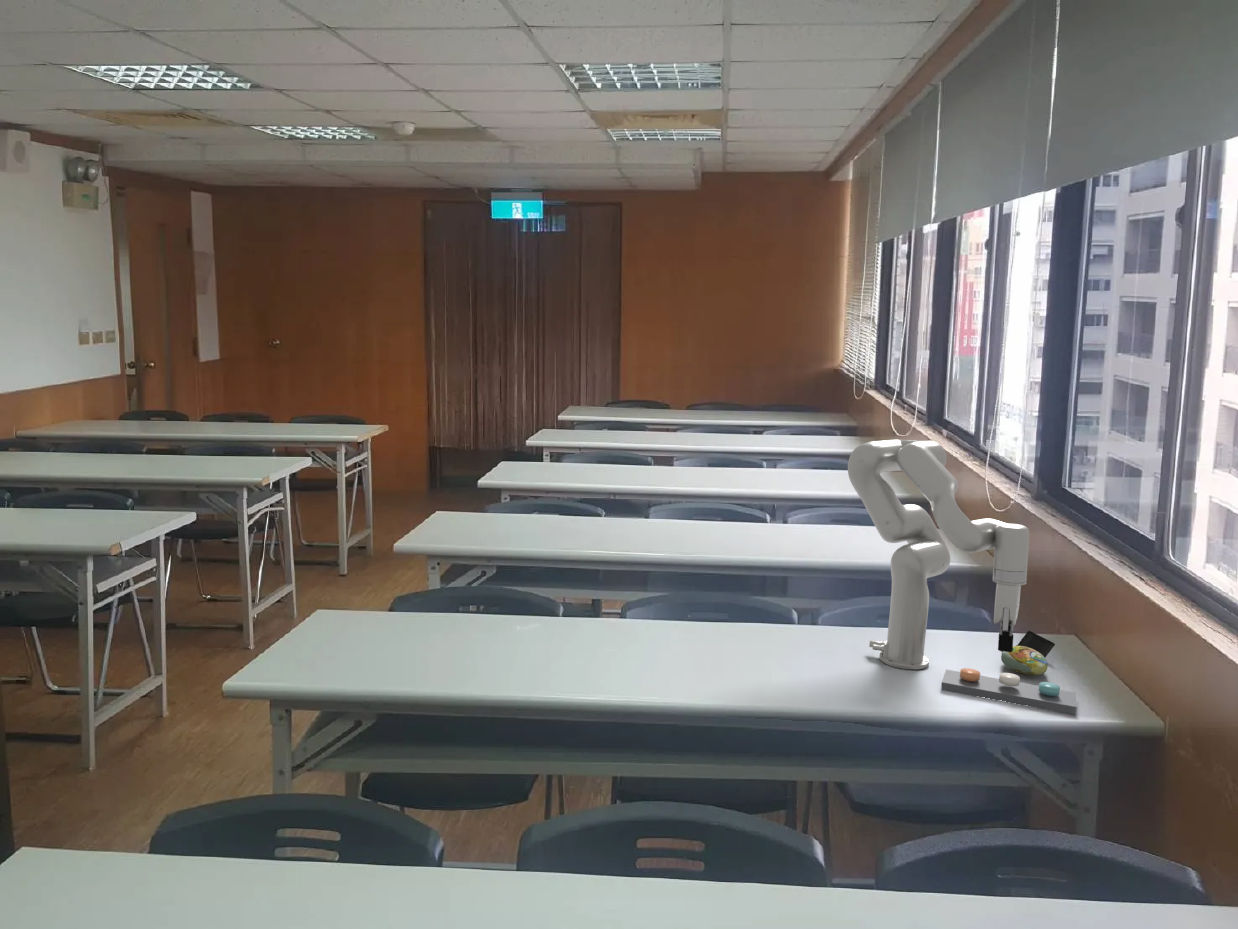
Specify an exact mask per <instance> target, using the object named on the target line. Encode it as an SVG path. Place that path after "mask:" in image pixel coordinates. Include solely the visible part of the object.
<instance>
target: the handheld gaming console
mask: <svg viewBox="0 0 1238 929" xmlns="http://www.w3.org/2000/svg"><path fill="white" fill-rule="evenodd" d="M1055 645H1056V643H1055V642H1053V641H1051V640H1049V639H1047V638H1044V637H1043V636H1041V635H1039V634H1037V633H1036V632H1033V631H1030V630H1028V631H1027V632H1026V633H1025V634H1024V635H1023V637H1022V638H1021V639H1020V640H1019V643H1017V645H1015V646H1024V647H1028V648H1031V649H1034V650H1036V651H1037V652H1039V653H1040V654H1042V655H1043V656H1044V658H1045V659H1046V657H1047V656H1048V654H1049V653H1050V652H1051V650H1053V648H1054V647H1055Z"/></svg>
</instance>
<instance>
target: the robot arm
mask: <svg viewBox="0 0 1238 929" xmlns="http://www.w3.org/2000/svg"><path fill="white" fill-rule="evenodd" d="M947 460H948V456H947V452H946V451H945V449H944V447H942V445H940V443H937V442H936V441H934V440H913V439H911V440H909V439H885V440H873V441H868V442H865V443H864V442H863V443H862V444H859V445H858V446H856V447H855V448H854V449H853V450H852V452H851V454H850V455H849V459H848V461H847V474H848V478H849V481H850V483H851V485H852V488H854V491H855V492H856V493H857V495H858V497H859V499H860V500H861V502H862V503H863V505H864V508H865V509H866V512H867V513H868V515H869V518H870V519H871V521H872V523H873V525H874V526H875V529H876V530H877V532H878V534H879V535H880V537H881V538H882V539H883V540H884V541H885V542H887V543H888V544H889V543H890V544H897V543H903V542H906V543H907V544H904V545H902V546H900V547H898V548H897V549H896V550H895V551H894V552H893V554H892V556H891V558H890V573H891V574H890V575H891V592H890V594H891V596H890V606H889V616H888V617H889V618H888V627H887V628H888V629H887V638H886V639H885V640H882V641H878V640H873V639H870V640H869V646H868V647H869V648H872V650H873V651H881V652H880V653H879V657H878V658H879V660H880V661H881V662H882V663H884V664H885V665H888V666H891V667H893V668H897V669H903V670H922V669H926V668H927V667H929V665H930V659H929V657H927V656H926V655H925V645H926V637H927V636H926V635H927V625H928V614H929V604H930V590H929V587H928V580H927V579H928V578H933V577H936V576H939V575H942V574H943V573H945V572H946V571H947V570H948V568H949V567H950V564H951V554H950V551H949V548H948V546H947V543H946V542H945V540H944V539H943V537H942V535H941V533H940V532H942V533H943V535H944V536H945V537H946V538H947V539H948V540H949V542H951V543H952V544H953V545H954V546H955V547H956V548H957V549H958V550H960V551H962V552H964V553H967V554H973V553H979V552H983V551H989V550H993V549H994V552H993V565H992V566H993V568H992V582H994V583H996V588H995V599H994V612H993V623H994V624H995V625H997V624H999V633H998V643H997V650H998V652H1002V651H1004V652H1012V650H1013V646H1014V634H1013V633H1014V626H1015V625H1016V623H1017V619H1018V614H1019V610H1020V602H1021V600H1020V598H1021V589H1022V588H1021V587H1022V586H1024V585H1027V580H1028V578H1027V577H1028V563H1029V548H1030V547H1029V545H1030V544H1029V543H1030V530H1029V528H1028V527H1027V526H1025V525H1023V524H1018V523H1008V522H1003V521H1000V520H997V519H994V518H987V517H986V518H981V519H975V520H974V519H973V520H971V519H969V517H968V516H967V515H966V514H965V513H964V512H963V511H962V510H961V509H960V507H959V506H958V504H957V502H956V498H955V494H956V493H957V490H958V488H959V482H958V480H957V478H955V477H954V475H953V474H951V472H950V471H949V470H948V469H947V468H946V464H947ZM889 472H890V473H891V472H902V473H903V474H904V475H905V476H906V477H907V478H908V479H909V480H910V482H911V483H912V484H913V485H914V486H915V487H916V489H918V490H919V492H920V493H921V494H922V495H923V496H924V497H925V498H926V499H927V501H928V502H929V503H930V506H931V512H932V514H933V518H934V520H935V523H936V524H937V526H936V524H935V523H934V520H933V519H932V517H931V515H930V514H929V513H928V512H927V510H926V509H925V508H923V507H921V506H920V505H917V504H913V503H908V504H903V503H901V501H900V500H899V498H898V496H897V495H896V492H895V490H894V488H892V486H891V485H890V484H889V482H887V481H886V480H885V478H883V477H882V476H881V473H882V474H883V473H889ZM938 528H939V529H938ZM939 530H940V531H939Z"/></svg>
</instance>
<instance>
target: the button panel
mask: <svg viewBox="0 0 1238 929" xmlns="http://www.w3.org/2000/svg"><path fill="white" fill-rule="evenodd" d="M940 689H941V690H940V691H944V692H950V693H955V694H961V695H966V696H970V695H971V697H976V696H979V697H978V698H981V697H985V698H984V699H986V698H990V699H989V700H992V699H995V700H994V701H997V700H1002V701H1006V702H1005V703H1008V702H1010V703H1009V704H1013V703H1016V704H1015V705H1018V704H1020V705H1021V706H1024V705H1028V706H1027V707H1029V706H1031V707H1030V708H1035V707H1036V709H1041V710H1045V709H1046V711H1051V710H1052V711H1051V712H1058V713H1062V714H1066V715H1073V716H1076V715H1077V714H1076V712H1077V694H1076V691H1068V690H1063V689H1060V693H1059V695H1057V696H1050V695H1045V694H1042V693H1041V692H1039V685H1036V684H1030V683H1024V682H1019V685H1018V686H1007V685H1004V684H1001V683H1000V682H999V678H996V677H990V676H984V675H980V680H979V681H967V680H964V679H962V678H960V671H957V670H951V669H947V668H946V669H945V672H944V675H943V677H942V681H941V688H940ZM1002 701H1001V702H1002Z"/></svg>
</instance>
